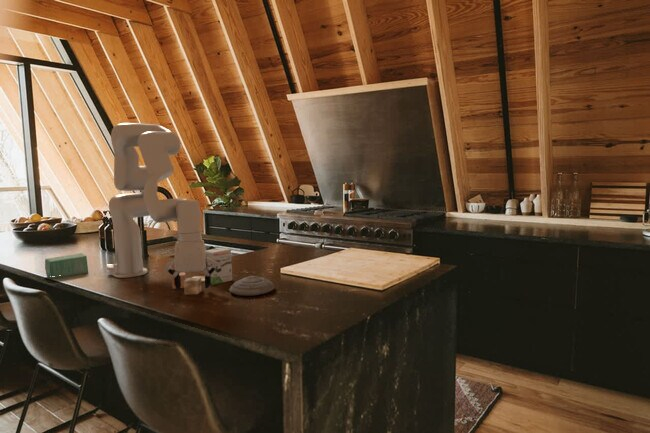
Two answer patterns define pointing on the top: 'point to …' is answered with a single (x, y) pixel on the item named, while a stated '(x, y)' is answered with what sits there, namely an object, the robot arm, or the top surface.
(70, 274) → the box
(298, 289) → the top surface
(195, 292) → the maple block
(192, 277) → the tile
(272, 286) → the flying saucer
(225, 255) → the ink box
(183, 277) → the terracotta block
